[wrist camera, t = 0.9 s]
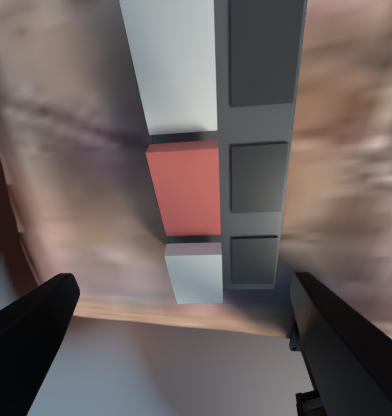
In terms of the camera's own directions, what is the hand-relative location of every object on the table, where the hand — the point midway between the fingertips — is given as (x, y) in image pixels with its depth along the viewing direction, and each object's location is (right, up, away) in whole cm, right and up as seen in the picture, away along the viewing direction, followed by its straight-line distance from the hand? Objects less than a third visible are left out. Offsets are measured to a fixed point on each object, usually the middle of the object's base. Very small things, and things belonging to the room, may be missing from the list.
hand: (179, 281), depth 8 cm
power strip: (+2, +6, +10) cm, 12 cm away
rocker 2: (+1, -2, +9) cm, 9 cm away
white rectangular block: (0, +9, +3) cm, 10 cm away
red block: (0, +4, +6) cm, 7 cm away
